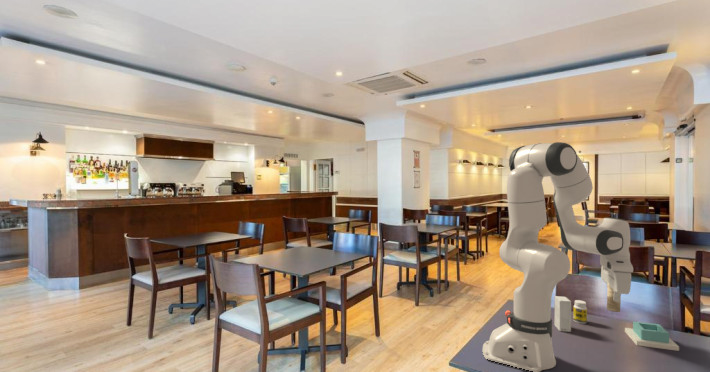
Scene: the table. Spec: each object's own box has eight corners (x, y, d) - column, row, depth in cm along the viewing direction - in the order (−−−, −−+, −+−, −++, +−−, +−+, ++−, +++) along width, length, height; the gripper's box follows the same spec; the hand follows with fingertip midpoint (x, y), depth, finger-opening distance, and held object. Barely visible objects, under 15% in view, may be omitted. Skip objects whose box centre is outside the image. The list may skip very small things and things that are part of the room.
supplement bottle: (574, 323, 146) (574, 302, 146) (572, 318, 151) (572, 299, 150) (588, 324, 145) (588, 304, 144) (585, 320, 149) (585, 300, 149)
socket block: (636, 345, 127) (636, 331, 127) (624, 331, 138) (625, 318, 138) (679, 350, 122) (679, 336, 122) (663, 336, 134) (663, 323, 133)
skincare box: (571, 332, 138) (571, 301, 137) (559, 331, 139) (559, 300, 138) (565, 325, 144) (565, 296, 143) (554, 325, 144) (554, 295, 144)
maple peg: (608, 311, 130) (609, 283, 130) (605, 307, 134) (606, 281, 134) (621, 312, 129) (622, 285, 128) (618, 308, 132) (618, 282, 132)
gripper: (596, 255, 142) (595, 289, 142) (613, 267, 123) (612, 306, 123) (615, 256, 139) (614, 291, 140) (635, 268, 120) (634, 309, 121)
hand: (613, 298), depth 131 cm, fingers closed on maple peg, 4 cm apart
